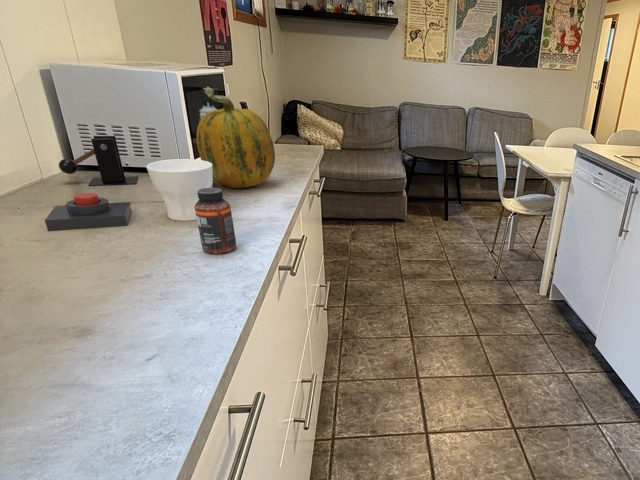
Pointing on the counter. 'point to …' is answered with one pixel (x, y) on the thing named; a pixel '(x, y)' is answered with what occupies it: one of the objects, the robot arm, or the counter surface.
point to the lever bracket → (109, 163)
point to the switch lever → (74, 162)
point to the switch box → (88, 215)
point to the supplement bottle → (214, 221)
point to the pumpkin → (235, 144)
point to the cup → (180, 184)
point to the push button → (86, 199)
